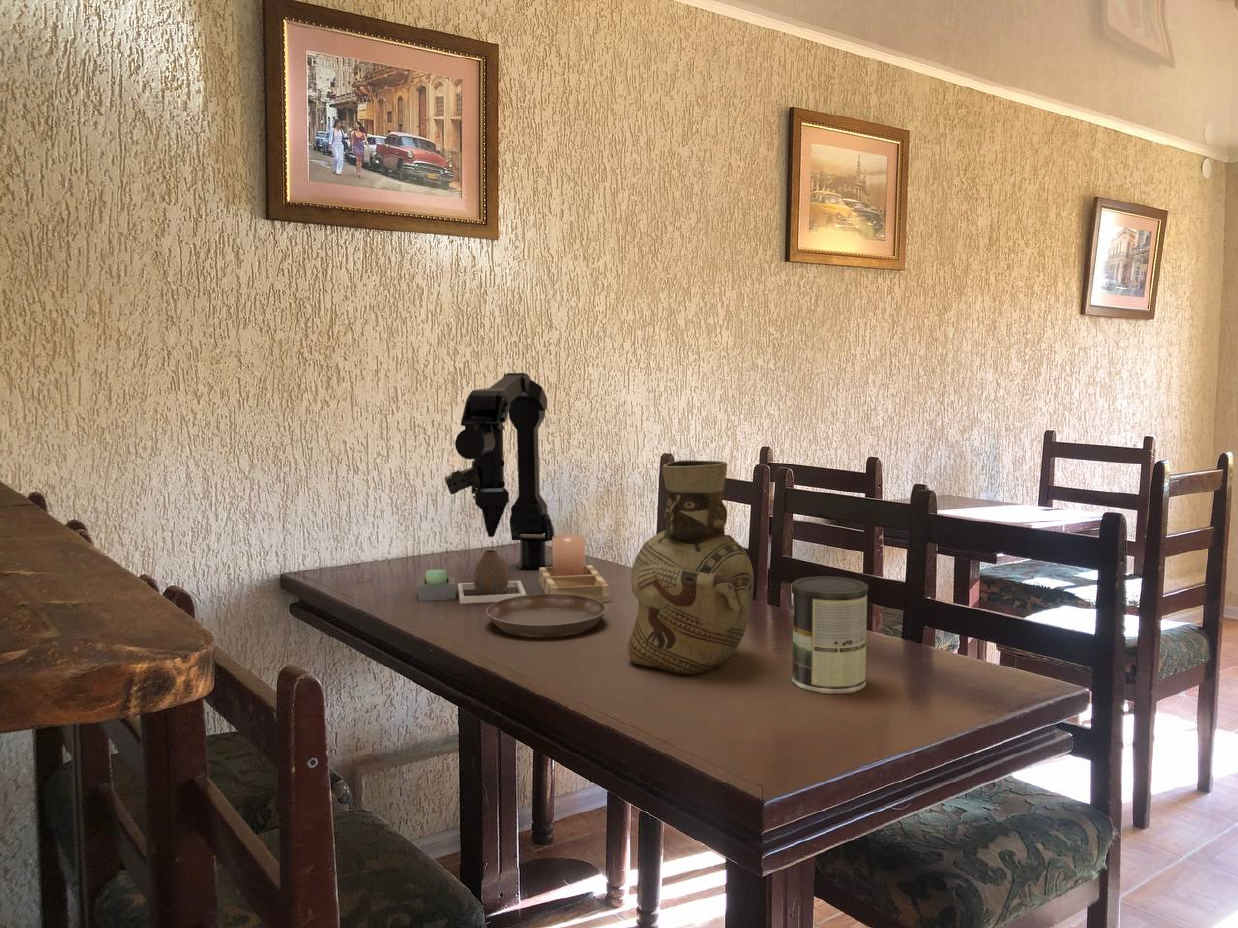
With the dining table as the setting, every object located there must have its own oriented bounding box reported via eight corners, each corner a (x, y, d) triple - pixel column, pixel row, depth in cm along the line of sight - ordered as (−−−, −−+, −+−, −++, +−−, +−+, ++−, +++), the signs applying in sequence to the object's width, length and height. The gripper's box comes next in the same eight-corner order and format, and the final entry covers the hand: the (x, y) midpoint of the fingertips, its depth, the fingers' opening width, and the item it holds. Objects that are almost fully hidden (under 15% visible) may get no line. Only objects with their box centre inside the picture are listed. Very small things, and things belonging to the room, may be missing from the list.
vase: (506, 598, 190) (505, 554, 189) (470, 598, 190) (470, 554, 190) (511, 591, 197) (510, 547, 196) (476, 590, 197) (475, 547, 196)
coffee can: (777, 684, 138) (778, 584, 136) (813, 666, 146) (814, 572, 144) (845, 699, 131) (847, 595, 130) (878, 680, 139) (880, 582, 138)
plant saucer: (591, 645, 159) (591, 625, 158) (469, 638, 163) (469, 619, 162) (617, 614, 179) (617, 596, 178) (508, 609, 183) (508, 591, 183)
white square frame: (457, 589, 199) (457, 583, 199) (520, 586, 201) (520, 580, 201) (459, 603, 186) (459, 597, 186) (526, 600, 189) (526, 594, 189)
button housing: (418, 593, 195) (418, 578, 195) (454, 591, 197) (454, 576, 197) (418, 601, 189) (418, 585, 188) (455, 599, 190) (455, 584, 190)
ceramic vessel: (660, 689, 136) (660, 472, 133) (608, 649, 155) (606, 460, 153) (781, 673, 143) (783, 467, 140) (716, 636, 162) (717, 455, 159)
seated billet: (550, 578, 203) (550, 535, 202) (582, 576, 204) (582, 533, 204) (554, 584, 197) (554, 540, 196) (587, 583, 198) (587, 539, 197)
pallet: (539, 582, 204) (539, 567, 204) (591, 580, 207) (591, 565, 206) (551, 604, 185) (551, 588, 185) (608, 602, 187) (608, 585, 187)
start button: (426, 592, 194) (426, 569, 194) (447, 591, 195) (446, 568, 195) (426, 596, 190) (426, 573, 190) (447, 595, 191) (447, 572, 191)
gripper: (445, 452, 199) (447, 528, 200) (447, 460, 180) (449, 544, 182) (501, 450, 201) (502, 526, 202) (508, 458, 183) (509, 541, 184)
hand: (490, 534), depth 193 cm, fingers open, 5 cm apart
